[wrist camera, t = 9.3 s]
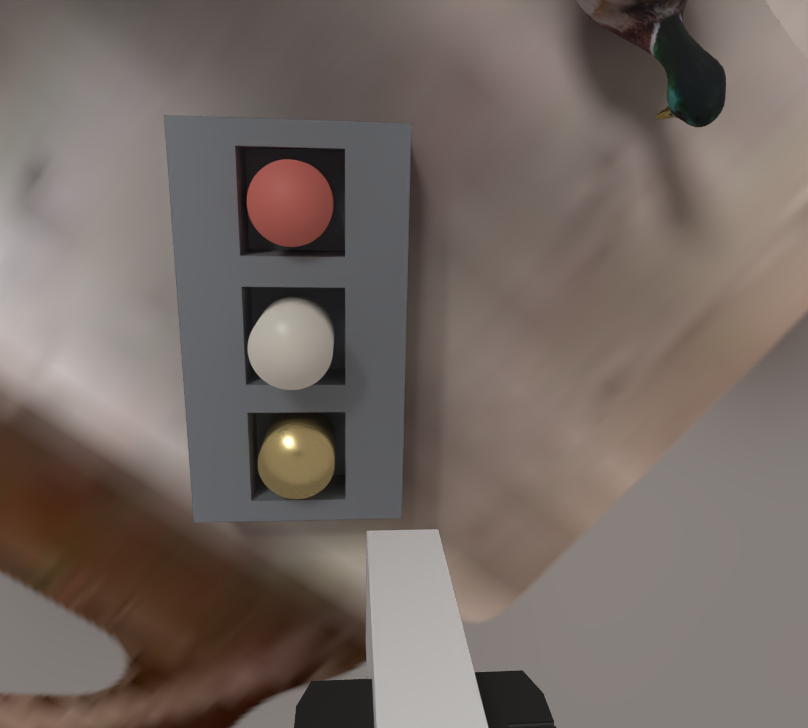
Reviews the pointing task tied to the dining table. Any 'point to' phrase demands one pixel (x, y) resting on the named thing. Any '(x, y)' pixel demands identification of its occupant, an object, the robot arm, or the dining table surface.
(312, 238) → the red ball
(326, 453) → the gold rounded piece
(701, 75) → the decorative duck model
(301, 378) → the ivory button
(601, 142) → the dining table surface
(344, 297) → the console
